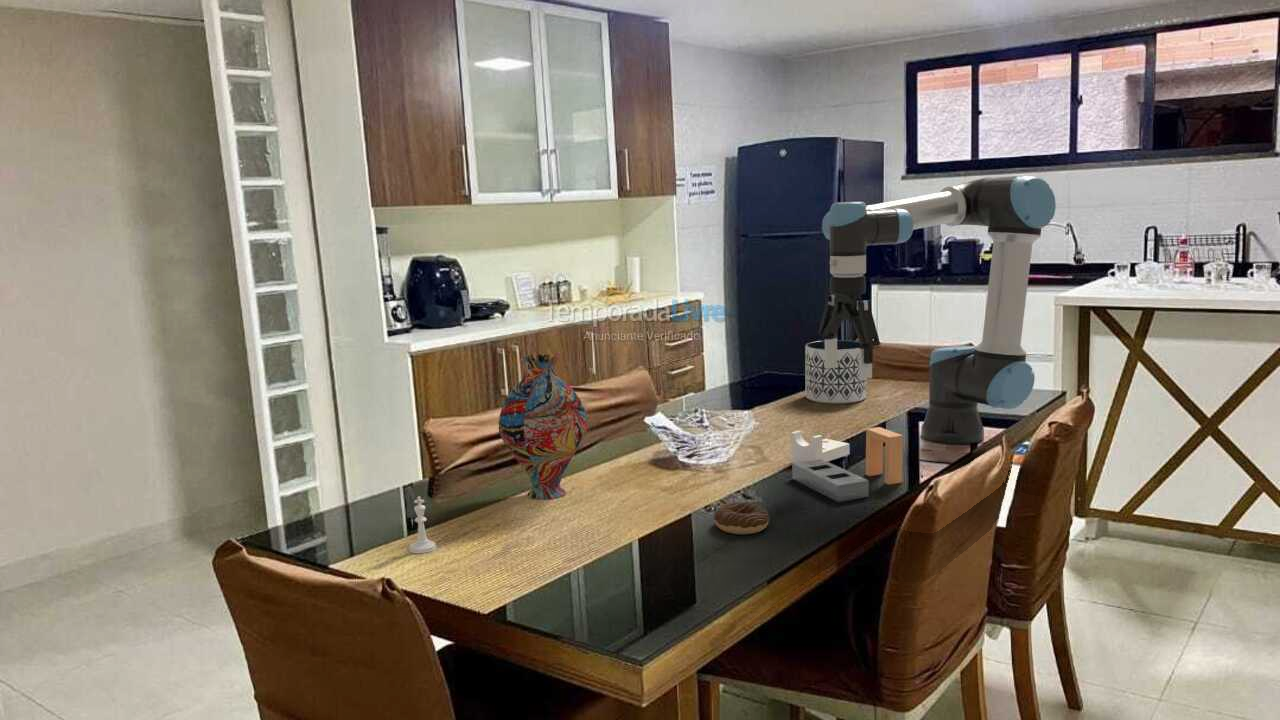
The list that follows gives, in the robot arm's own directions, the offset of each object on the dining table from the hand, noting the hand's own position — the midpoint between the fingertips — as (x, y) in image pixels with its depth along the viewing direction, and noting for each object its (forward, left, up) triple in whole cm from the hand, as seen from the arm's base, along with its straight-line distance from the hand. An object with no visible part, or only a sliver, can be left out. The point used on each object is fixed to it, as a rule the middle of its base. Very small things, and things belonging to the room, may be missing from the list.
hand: (847, 373), depth 208 cm
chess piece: (+93, +1, -24) cm, 96 cm away
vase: (+63, -20, -24) cm, 70 cm away
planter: (-43, -70, -24) cm, 85 cm away
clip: (-7, +4, -24) cm, 25 cm away
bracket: (-3, -15, -24) cm, 28 cm away
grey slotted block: (+7, +4, -24) cm, 25 cm away
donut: (+35, +17, -24) cm, 46 cm away
